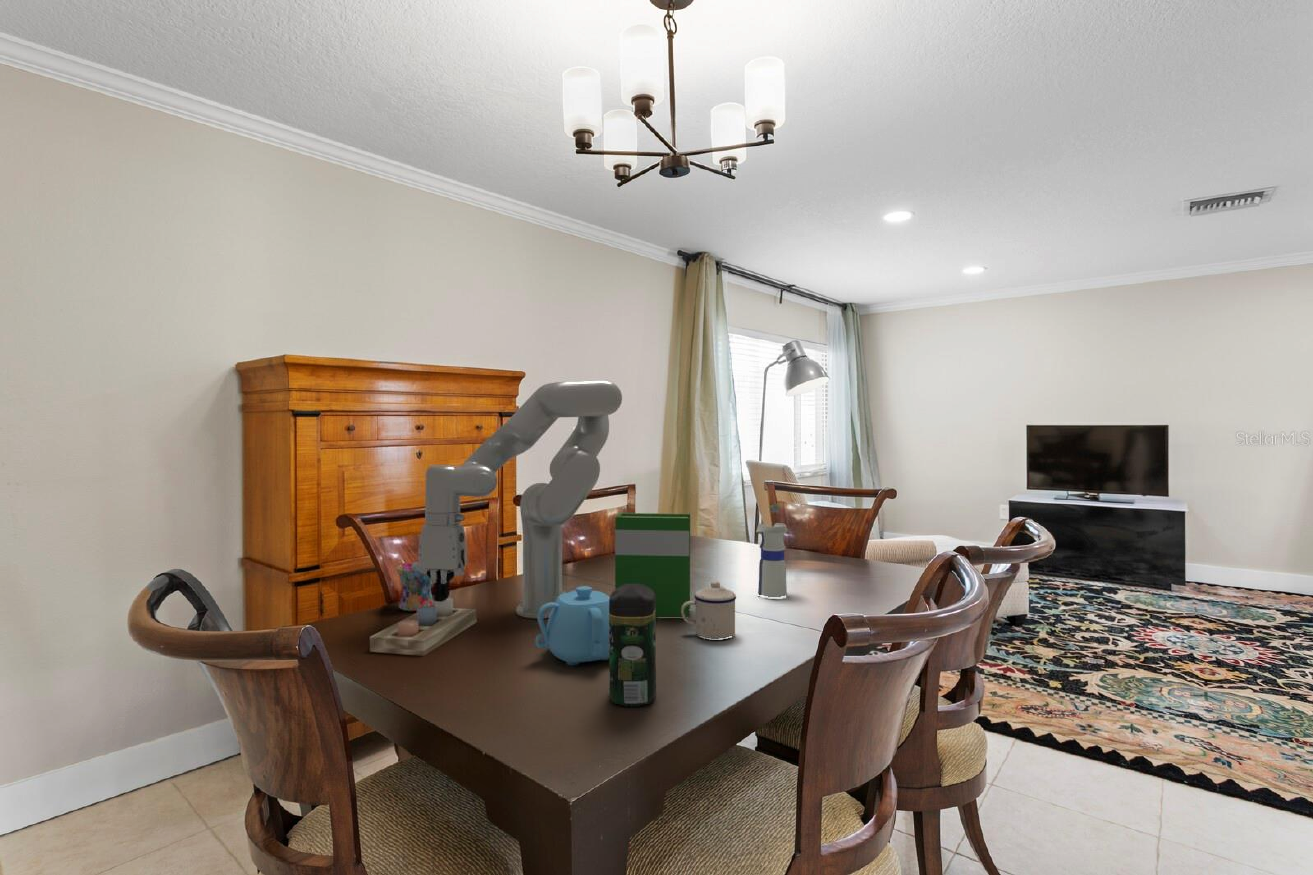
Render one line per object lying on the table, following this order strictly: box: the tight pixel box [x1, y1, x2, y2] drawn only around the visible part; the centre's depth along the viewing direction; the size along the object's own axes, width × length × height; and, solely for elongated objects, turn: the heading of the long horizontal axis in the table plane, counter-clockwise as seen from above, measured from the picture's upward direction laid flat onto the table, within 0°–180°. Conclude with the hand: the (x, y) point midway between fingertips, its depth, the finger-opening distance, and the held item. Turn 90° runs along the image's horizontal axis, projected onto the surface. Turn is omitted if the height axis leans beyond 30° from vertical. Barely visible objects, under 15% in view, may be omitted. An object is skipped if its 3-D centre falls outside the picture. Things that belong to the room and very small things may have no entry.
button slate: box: [416, 605, 437, 626], centre depth 137 cm, size 4×4×4 cm
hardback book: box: [614, 512, 691, 618], centre depth 154 cm, size 18×7×24 cm, turn 85°
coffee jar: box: [608, 584, 657, 708], centre depth 107 cm, size 10×8×19 cm
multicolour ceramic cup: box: [396, 561, 434, 612], centre depth 160 cm, size 12×9×11 cm
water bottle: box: [755, 501, 789, 597], centre depth 170 cm, size 8×9×25 cm
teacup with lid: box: [681, 580, 737, 639], centre depth 138 cm, size 12×9×12 cm
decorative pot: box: [534, 585, 610, 666], centre depth 126 cm, size 16×16×14 cm
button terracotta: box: [397, 620, 418, 637], centre depth 130 cm, size 4×4×4 cm
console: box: [369, 607, 477, 657], centre depth 137 cm, size 12×22×3 cm, turn 169°
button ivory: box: [433, 597, 454, 617], centre depth 144 cm, size 4×4×4 cm
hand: (441, 599), depth 144 cm, fingers closed
